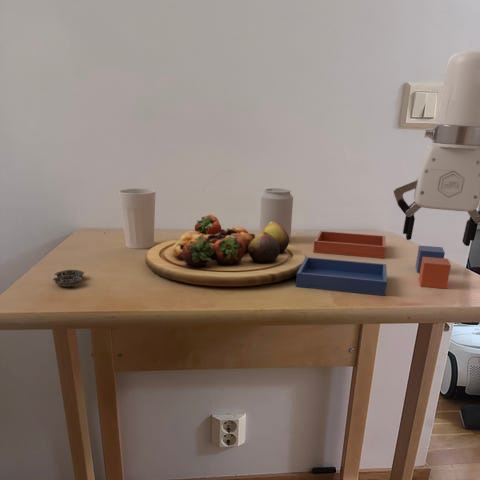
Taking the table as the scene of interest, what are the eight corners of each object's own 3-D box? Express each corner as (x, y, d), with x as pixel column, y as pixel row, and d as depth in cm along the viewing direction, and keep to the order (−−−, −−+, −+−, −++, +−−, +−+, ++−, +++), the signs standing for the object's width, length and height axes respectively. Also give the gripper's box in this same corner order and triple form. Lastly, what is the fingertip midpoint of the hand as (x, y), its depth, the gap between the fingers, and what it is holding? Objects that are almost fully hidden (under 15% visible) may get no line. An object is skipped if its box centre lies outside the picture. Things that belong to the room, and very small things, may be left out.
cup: (119, 249, 106) (115, 193, 101) (124, 241, 113) (120, 188, 109) (156, 249, 107) (154, 194, 102) (158, 241, 114) (156, 188, 110)
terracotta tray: (383, 246, 114) (385, 235, 113) (384, 258, 104) (385, 247, 103) (319, 241, 118) (319, 230, 117) (313, 252, 108) (314, 241, 107)
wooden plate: (152, 245, 111) (150, 208, 108) (290, 244, 114) (292, 208, 110) (136, 290, 82) (133, 242, 78) (323, 288, 84) (327, 241, 81)
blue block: (438, 268, 98) (442, 247, 96) (440, 274, 94) (444, 252, 93) (415, 266, 99) (419, 245, 97) (416, 272, 95) (420, 250, 94)
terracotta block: (443, 281, 90) (447, 258, 88) (446, 289, 86) (451, 265, 84) (418, 279, 91) (422, 256, 89) (420, 286, 87) (424, 262, 86)
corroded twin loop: (51, 289, 81) (50, 283, 81) (57, 274, 88) (56, 269, 88) (82, 287, 82) (81, 281, 82) (85, 273, 89) (85, 268, 89)
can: (271, 244, 113) (274, 192, 109) (253, 238, 119) (255, 188, 114) (296, 241, 117) (300, 190, 112) (277, 235, 123) (280, 186, 118)
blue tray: (384, 276, 92) (386, 264, 91) (384, 295, 82) (387, 281, 81) (304, 269, 96) (305, 256, 95) (295, 286, 86) (296, 273, 85)
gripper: (403, 135, 78) (386, 240, 84) (522, 142, 74) (493, 251, 80) (401, 134, 84) (385, 232, 91) (510, 140, 80) (485, 241, 87)
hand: (436, 241), depth 86 cm, fingers open, 9 cm apart
